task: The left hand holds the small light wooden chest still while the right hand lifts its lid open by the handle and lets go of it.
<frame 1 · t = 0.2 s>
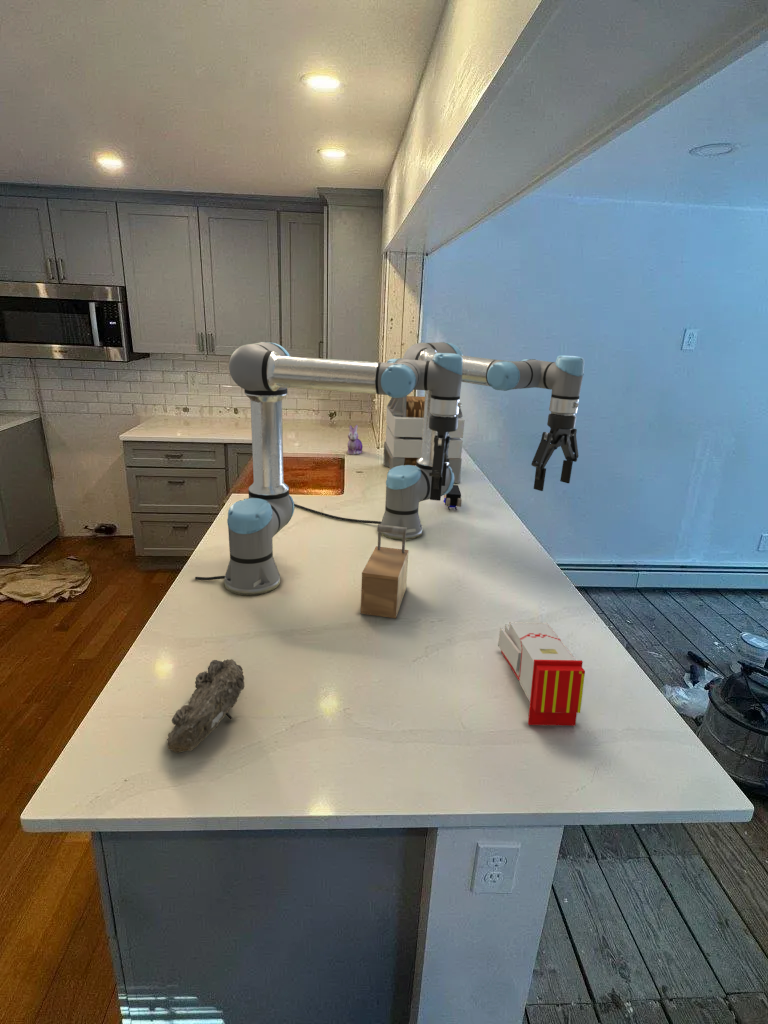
left hand: (437, 492, 155), 28 cm above the counter, tool pointing down, fingers open, 13 cm apart
right hand: (551, 486, 166), 28 cm above the counter, tool pointing down, fingers open, 13 cm apart
fossil: (212, 717, 108), on the counter
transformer: (419, 473, 275), on the counter
figurine character: (451, 506, 230), on the counter
toy: (532, 682, 122), on the counter
lid: (387, 549, 149), point 15 cm above the counter, hinge at 0.0°
figurine: (354, 453, 307), on the counter
chest: (384, 600, 154), on the counter
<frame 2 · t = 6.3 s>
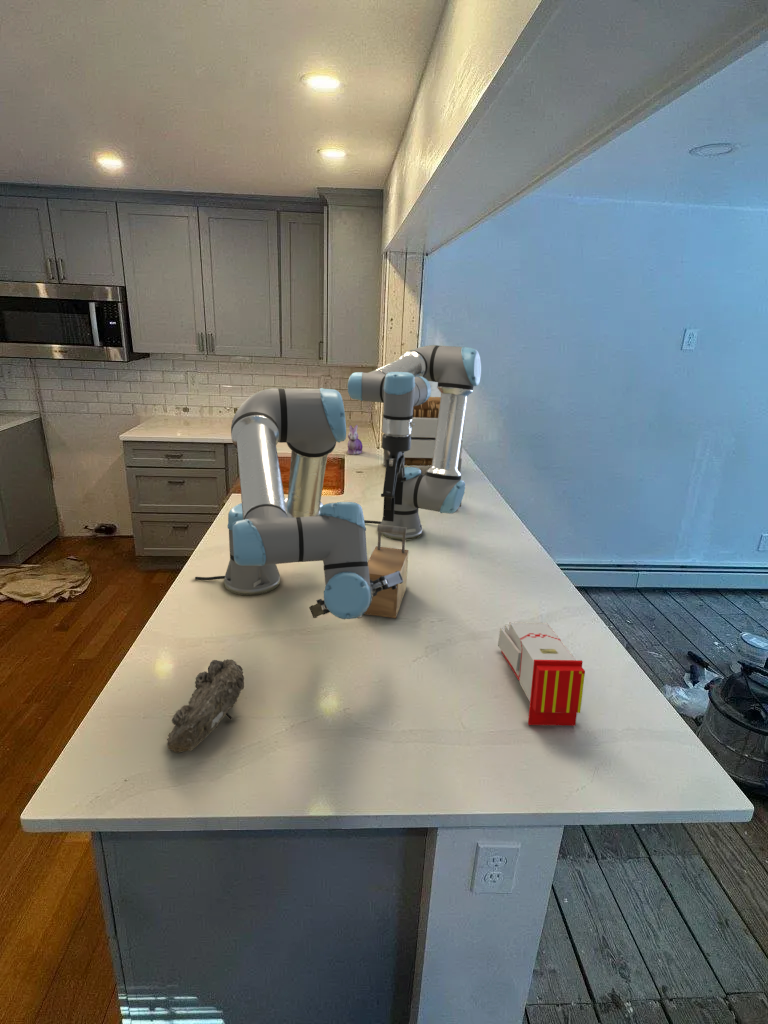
left hand: (358, 594, 126), 15 cm above the counter, tool tilted 65°, fingers open, 13 cm apart
right hand: (392, 512, 153), 23 cm above the counter, tool pointing down, fingers open, 13 cm apart
nothing on the counter moved.
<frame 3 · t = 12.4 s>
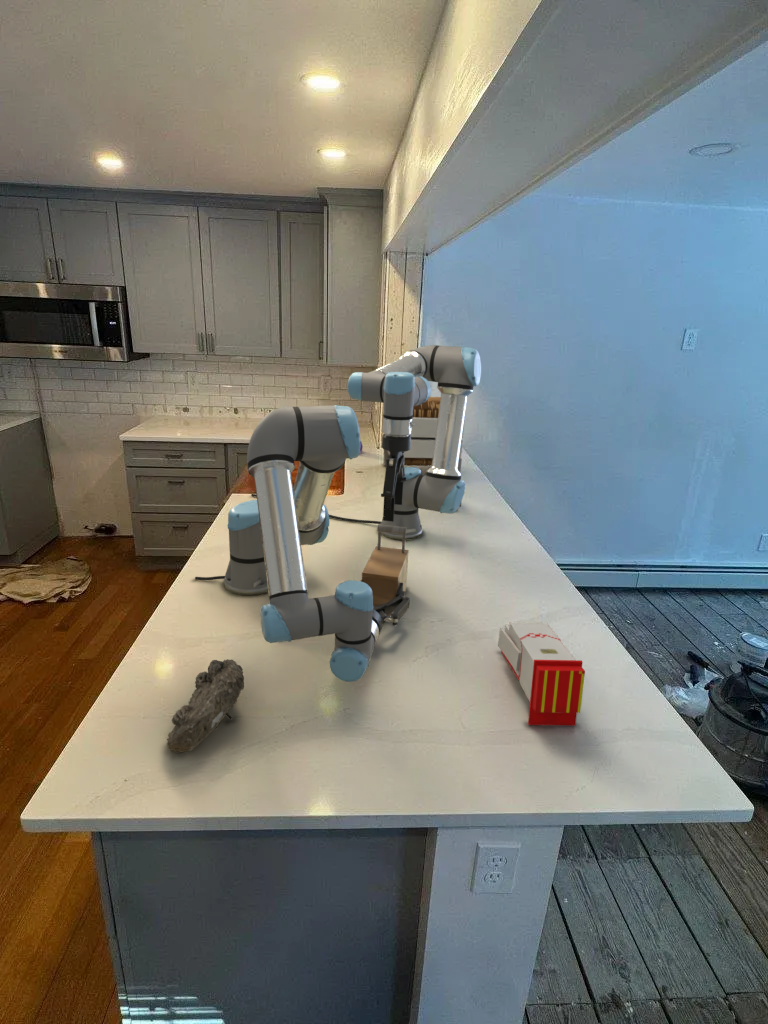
left hand: (382, 584, 148), 7 cm above the counter, tool horizontal, fingers closed on chest, 9 cm apart
right hand: (392, 512, 153), 23 cm above the counter, tool pointing down, fingers open, 13 cm apart
chest: (384, 600, 154), on the counter, touching left hand
everything else where it was.
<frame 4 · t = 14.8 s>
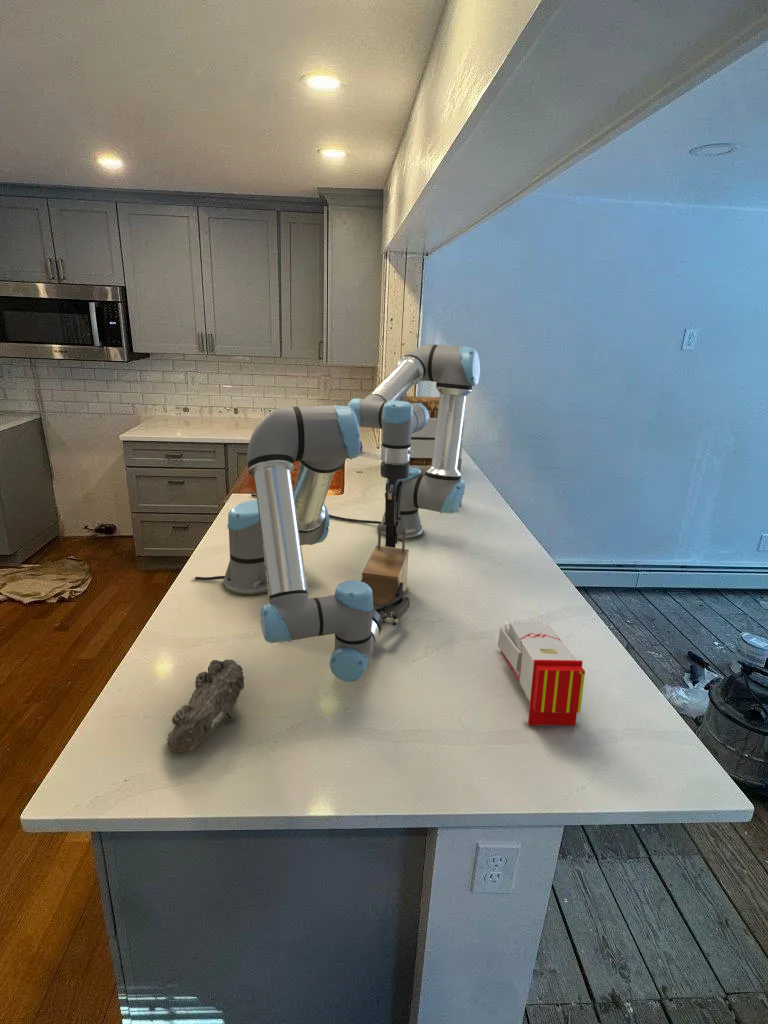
left hand: (382, 584, 148), 7 cm above the counter, tool horizontal, fingers closed on chest, 9 cm apart
right hand: (391, 544, 156), 14 cm above the counter, tool pointing down, fingers closed on lid, 2 cm apart
lid: (387, 549, 149), point 15 cm above the counter, hinge at 0.6°, touching right hand
chest: (384, 600, 154), on the counter, touching left hand
everything else where it was.
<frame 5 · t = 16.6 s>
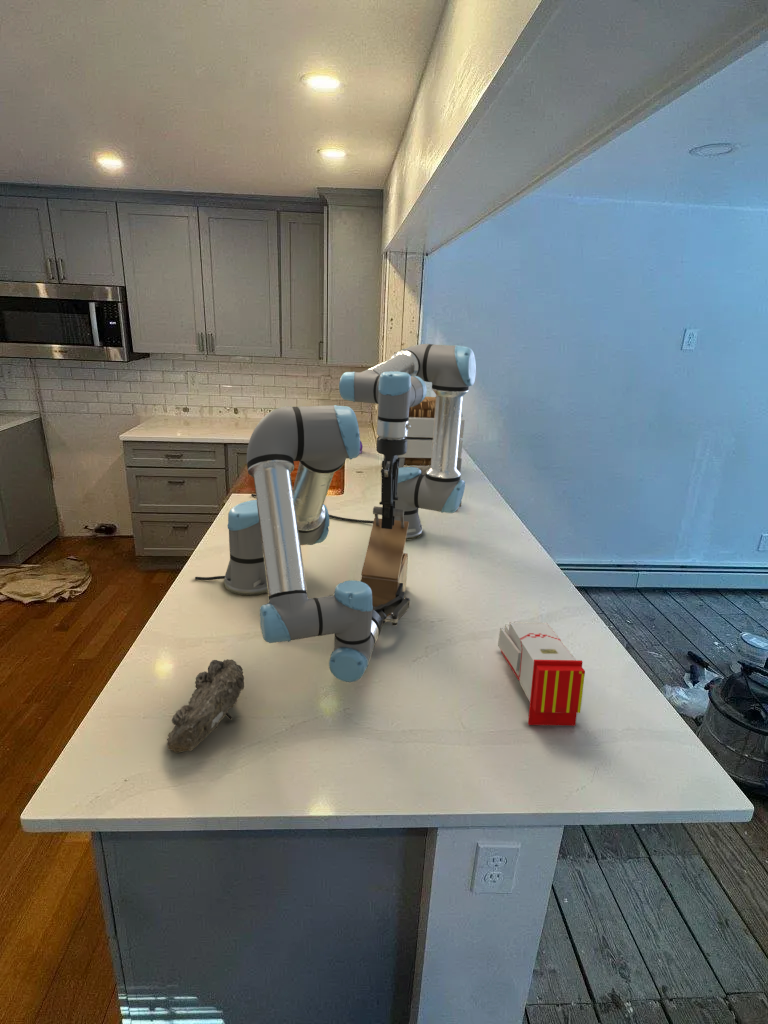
left hand: (382, 585, 147), 7 cm above the counter, tool horizontal, fingers closed on chest, 9 cm apart
right hand: (387, 526, 147), 22 cm above the counter, tool pointing down, fingers closed on lid, 2 cm apart
lid: (384, 540, 144), point 19 cm above the counter, hinge at 33.3°, touching right hand
chest: (384, 600, 154), on the counter, touching left hand
everything else where it was.
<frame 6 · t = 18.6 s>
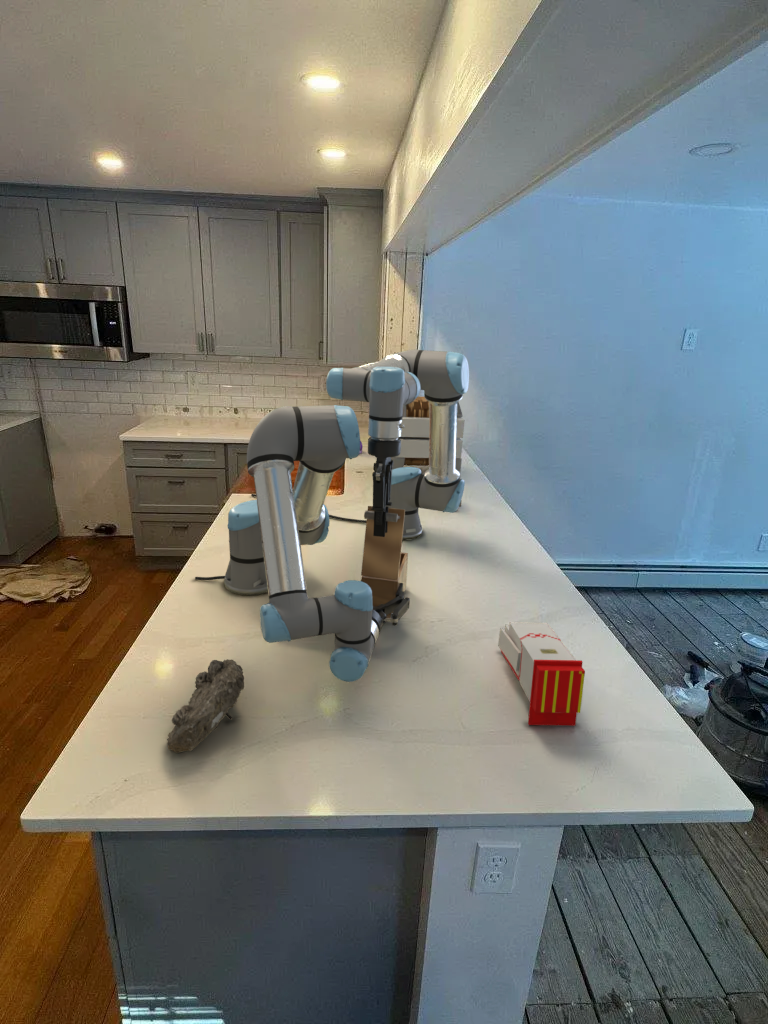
left hand: (382, 585, 147), 7 cm above the counter, tool horizontal, fingers closed on chest, 9 cm apart
right hand: (380, 533, 136), 24 cm above the counter, tool pointing down, fingers open, 2 cm apart
lid: (380, 543, 138), point 21 cm above the counter, hinge at 69.8°
chest: (384, 599, 154), on the counter, touching left hand
everything else where it was.
when the left hand's fingers open (7 cm above the counter, at t = 22.8 s): chest stays where it is, on the counter.
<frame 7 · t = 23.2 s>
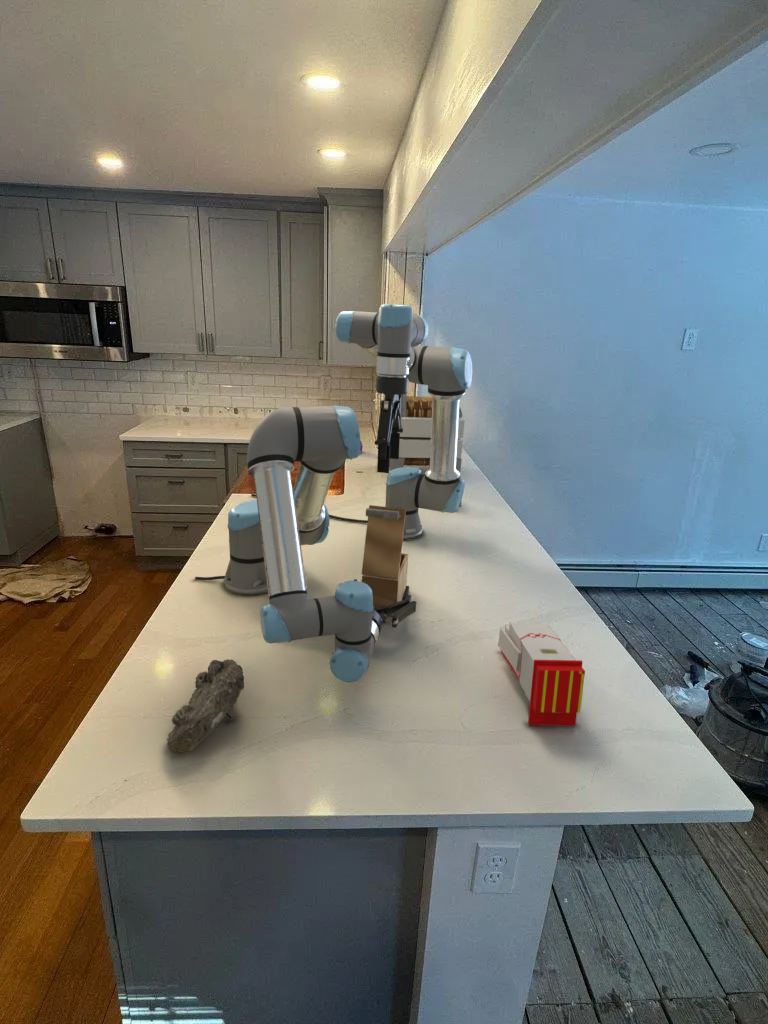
left hand: (381, 587, 146), 7 cm above the counter, tool horizontal, fingers open, 13 cm apart
right hand: (388, 465, 137), 39 cm above the counter, tool pointing down, fingers open, 13 cm apart
lid: (381, 541, 139), point 21 cm above the counter, hinge at 68.2°
chest: (384, 600, 154), on the counter
everything else where it was.
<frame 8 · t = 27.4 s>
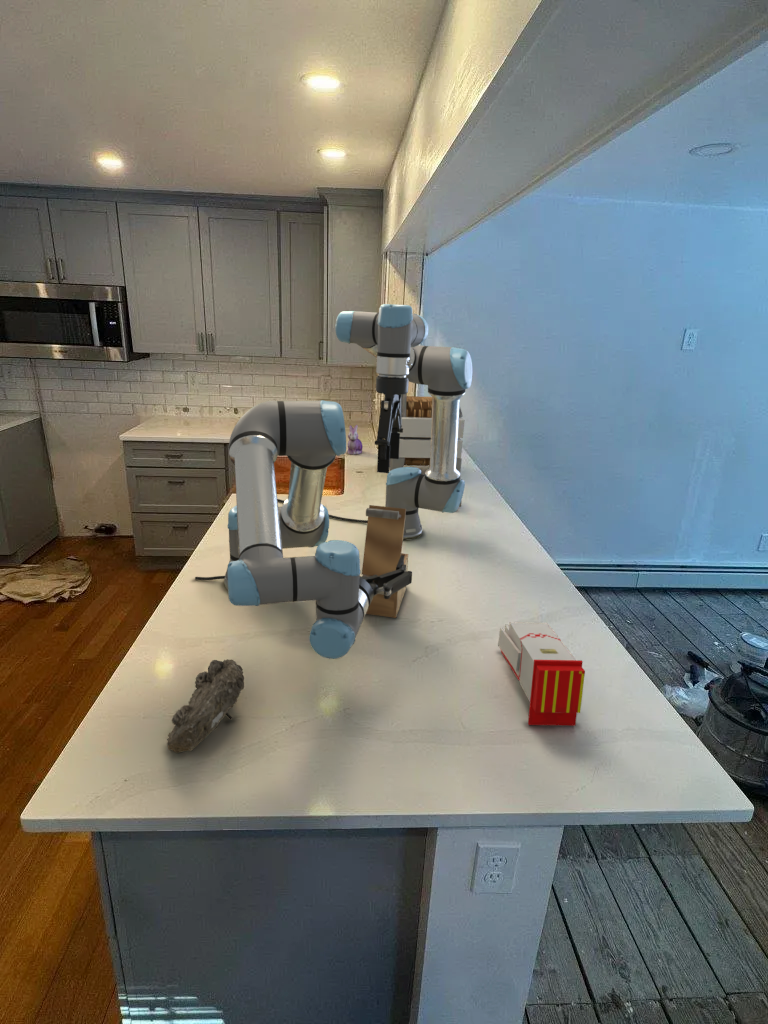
left hand: (373, 557, 130), 21 cm above the counter, tool horizontal, fingers open, 13 cm apart
right hand: (388, 465, 137), 39 cm above the counter, tool pointing down, fingers open, 13 cm apart
nothing on the counter moved.
at the end: lid at +68° (first picture: +0°); the left hand is holding nothing; the right hand is holding nothing; chest tilted 0°; chest never tilted more than 2° during the clip; chest moved 0.2 cm from its start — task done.
